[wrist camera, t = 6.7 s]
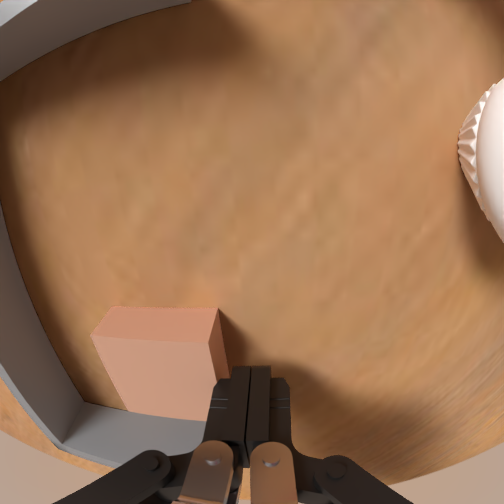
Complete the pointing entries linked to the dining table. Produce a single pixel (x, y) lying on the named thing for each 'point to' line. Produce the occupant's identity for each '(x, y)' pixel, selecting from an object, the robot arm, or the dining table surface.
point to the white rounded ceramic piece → (486, 154)
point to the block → (163, 358)
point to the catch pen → (16, 296)
